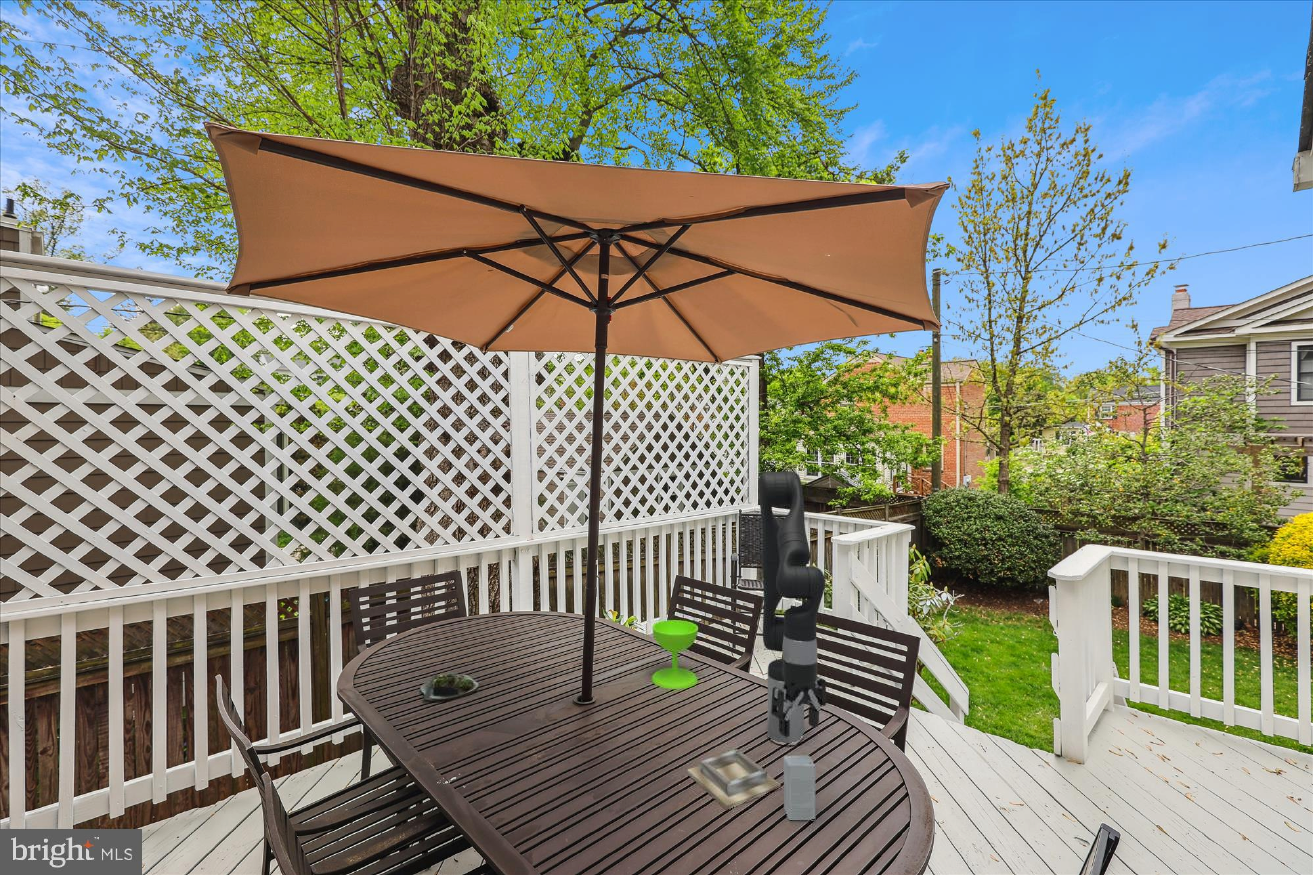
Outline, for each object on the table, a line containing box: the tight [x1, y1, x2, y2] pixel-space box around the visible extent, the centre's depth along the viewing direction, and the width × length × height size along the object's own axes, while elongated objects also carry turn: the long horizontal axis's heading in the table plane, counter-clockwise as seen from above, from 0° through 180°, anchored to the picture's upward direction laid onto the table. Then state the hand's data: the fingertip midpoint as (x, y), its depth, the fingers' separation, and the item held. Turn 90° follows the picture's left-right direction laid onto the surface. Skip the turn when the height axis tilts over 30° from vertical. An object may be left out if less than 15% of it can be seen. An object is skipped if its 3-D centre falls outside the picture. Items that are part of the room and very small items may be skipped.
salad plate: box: [420, 673, 480, 703], centre depth 184 cm, size 19×18×5 cm
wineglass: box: [651, 619, 699, 690], centre depth 194 cm, size 16×16×18 cm
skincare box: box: [783, 754, 816, 821], centre depth 123 cm, size 6×4×12 cm
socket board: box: [687, 748, 782, 811], centre depth 135 cm, size 16×16×4 cm
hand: (799, 730), depth 123 cm, fingers open, 8 cm apart
